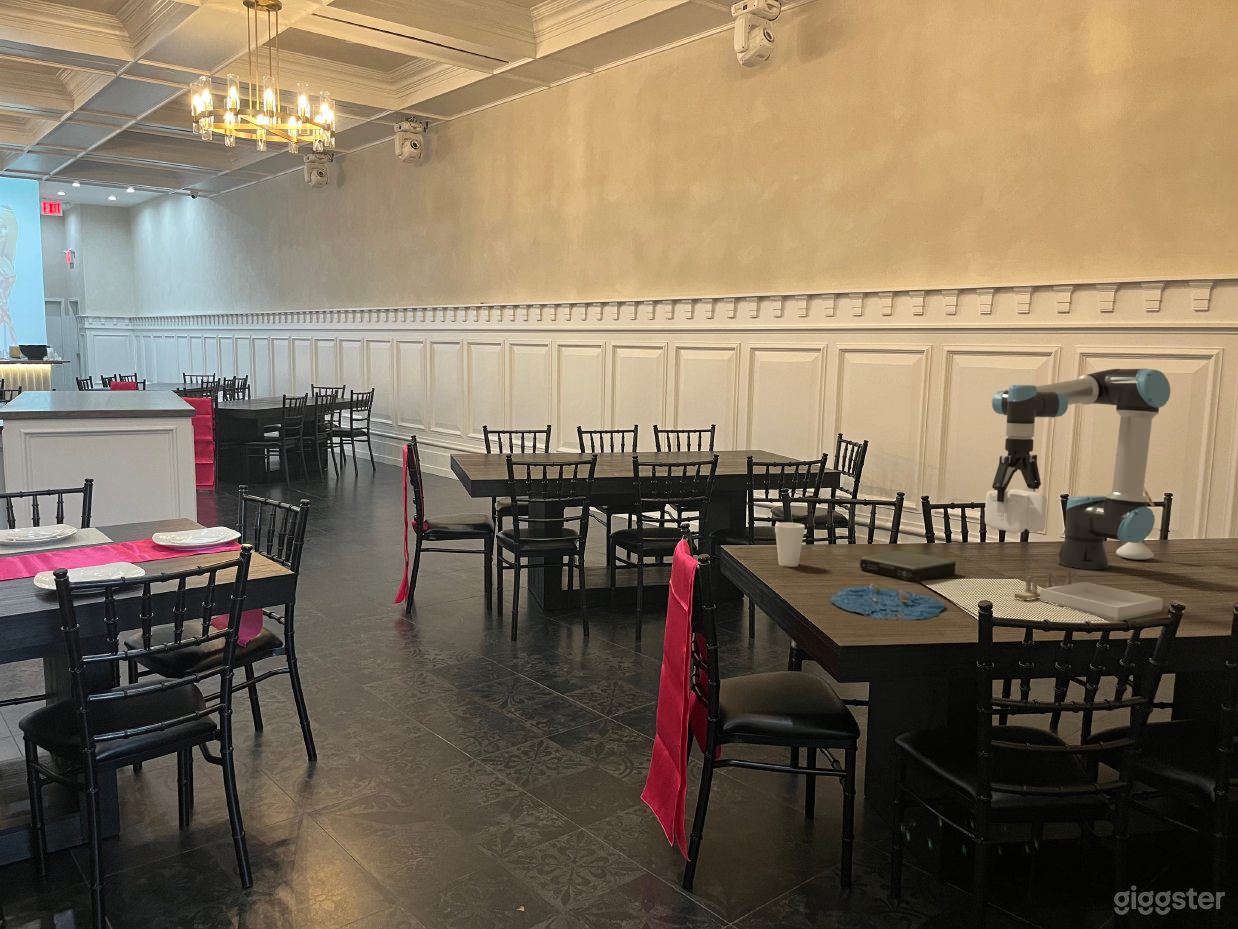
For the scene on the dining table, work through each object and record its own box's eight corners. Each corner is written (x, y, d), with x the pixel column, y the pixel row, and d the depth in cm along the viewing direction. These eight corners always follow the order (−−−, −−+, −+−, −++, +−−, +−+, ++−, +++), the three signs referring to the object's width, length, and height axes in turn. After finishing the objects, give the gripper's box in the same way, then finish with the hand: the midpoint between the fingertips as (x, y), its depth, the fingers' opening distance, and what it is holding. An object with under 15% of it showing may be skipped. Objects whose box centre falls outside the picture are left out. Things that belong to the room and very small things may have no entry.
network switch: (959, 574, 285) (960, 559, 285) (924, 586, 269) (924, 569, 268) (891, 563, 302) (892, 548, 301) (854, 573, 286) (854, 557, 285)
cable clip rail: (1076, 588, 267) (1078, 568, 266) (1086, 590, 264) (1087, 570, 264) (1014, 599, 253) (1015, 577, 252) (1023, 601, 250) (1025, 580, 250)
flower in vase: (1145, 563, 305) (1150, 489, 302) (1109, 557, 314) (1114, 485, 311) (1161, 558, 313) (1166, 486, 310) (1126, 553, 322) (1131, 483, 319)
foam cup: (792, 560, 301) (793, 521, 300) (809, 566, 293) (810, 526, 292) (768, 562, 297) (769, 523, 296) (785, 568, 289) (786, 528, 288)
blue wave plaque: (970, 624, 233) (972, 604, 233) (862, 628, 227) (864, 607, 226) (910, 591, 262) (912, 574, 261) (813, 594, 256) (814, 576, 255)
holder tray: (1084, 593, 261) (1085, 581, 260) (1161, 611, 242) (1162, 598, 241) (1039, 601, 251) (1040, 589, 250) (1116, 620, 232) (1117, 607, 231)
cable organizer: (1047, 534, 263) (1050, 494, 262) (1018, 536, 260) (1020, 495, 259) (1010, 525, 277) (1012, 488, 276) (982, 527, 274) (984, 489, 273)
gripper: (1034, 435, 275) (1030, 507, 277) (981, 437, 263) (977, 512, 265) (1057, 437, 268) (1052, 510, 270) (1003, 439, 257) (999, 516, 259)
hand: (1015, 511), depth 268 cm, fingers closed on cable organizer, 11 cm apart
